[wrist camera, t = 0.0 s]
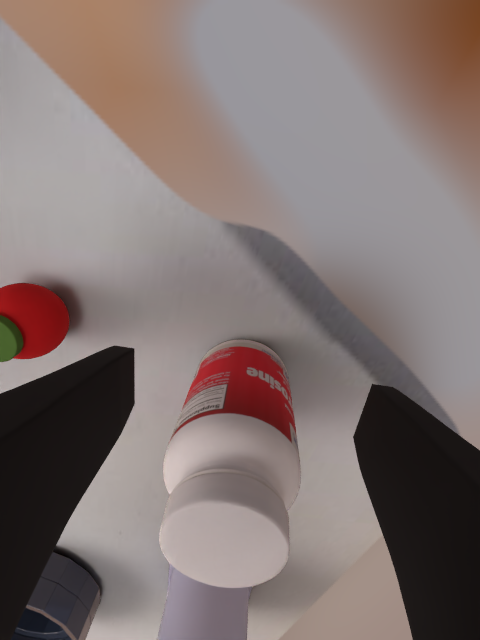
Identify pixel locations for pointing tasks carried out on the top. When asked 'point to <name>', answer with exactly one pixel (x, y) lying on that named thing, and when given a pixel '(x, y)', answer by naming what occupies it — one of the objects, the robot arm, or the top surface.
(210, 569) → the pill bottle
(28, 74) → the top surface
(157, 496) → the top surface
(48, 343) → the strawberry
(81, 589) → the bowl
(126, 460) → the top surface
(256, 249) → the top surface
